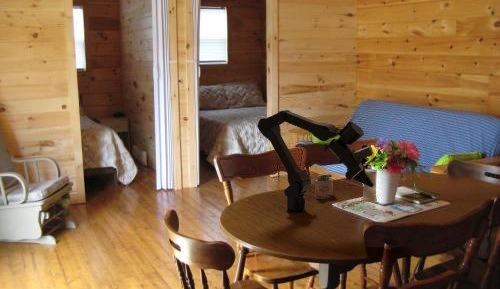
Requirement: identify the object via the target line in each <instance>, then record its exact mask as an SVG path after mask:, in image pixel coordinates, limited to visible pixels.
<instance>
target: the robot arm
mask: <svg viewBox="0 0 500 289" xmlns="http://www.w3.org/2000/svg"><path fill="white" fill-rule="evenodd" d="M284 123H287V124H290V125H292V126H295V127H297V128H299V129H302V130H304V131H307V132H309V133H310V134H311V135H312V136H313V137H314V138H316V139H318V140H319V141H321V142H326V143H324V144H323V146H324V148H323V152H325V153H326V152H327V151H328V150H330V151H331V152H332V154H334V155H335V156H336V158H337V159H338V162H339V163H340V164H343V165H344V166H345V168H347V169H346V172H345V173H344V174H345V175H344V176H345V178H346V179H347V180H348V181H350V180H352V181H356V182H359V183H361V184H362V185H363V184H365V185H367V186H369V187H373V186H374V185H373V183H372V182H371V180H370V179H369V177H368V176H367V174H366V173H365V169H369V164H370V162H369V161H370V157H372V156H373V155H374V151H373V147H372V146H371V145H368V144H367V143H365V144H362V145H361V148H360V149H358V150H356V149H354V148H351V147H350V146H353V145H354V144H355V143H357V141H358V140H359V139H361V138H362V137H363V136H364V135H365V132H364V130H363V128H361V126H359V125H358V124H356V123H354V121H352V120H351V121H348V122H347V123H346V125H344V127H343V128H339V127H336V125H335V124H332V123H328V122H322V121H315V120H313V119H310V118H307V117H306V116H302V115H300V114H297V113H296V112H292V111H290V110H288V109H282V110H280V111H278V112H276V113H274V114H273V115H271V116H266V117H263V118H262V117H261V118H260V119H259V120H258V121H257V125H256V126H257V129H258V131H259V132H260V133H261V135H262V136H263V137H264V138H265V139H267V140H268V141H269V142H270V144H271V146H272V147H273V150H274V151H275V153H276V155H277V157H278V158H279V161H280V162H281V164H282V166H283V168H284V170H285V171H286V173H287V174H286V175H287V183H288V186H287V187H286V188H285V189H284V191H283V193H284V196H285V197H287V198H286V212H288V213H289V212H292V213H304V210H306V197H305V194H306V193H307V191H308V189H310V187H311V183H312V181H311V178H312V177H311V176H310V175H309V173H308V171H307V169H305V168H304V169H301V168H300V167H299V166H298V164H297V162H296V161H295V159H294V157H293V155H292V152H291V151H290V150H289V148H288V146H287V144H286V142H285V140H284V138H283V136H282V133H281V132H282V130H281V125H282V124H284ZM327 141H329V143H328V142H327Z"/></svg>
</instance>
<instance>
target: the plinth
mask: <svg viewBox="0 0 500 289" xmlns="http://www.w3.org/2000/svg"><path fill="white" fill-rule="evenodd" d="M382 213H383V210H381V209H380V210H378V209H369V208H367V209H365V211H364V212H363V214H364V215H374V216H382Z"/></svg>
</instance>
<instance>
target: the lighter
mask: <svg viewBox="0 0 500 289" xmlns="http://www.w3.org/2000/svg"><path fill="white" fill-rule="evenodd" d="M314 183H315V184H314V188H315V189H314V191H315V192H314V199H318V200H319V199H321V200H322V199H323V200H324V199H330V198H331V197H332V196H333V194H334V192H333V189H334V186H333V185H334V179H332V173H328V174H327V173H326V174H324V173H322V174H319V175H317V179H315V180H314Z"/></svg>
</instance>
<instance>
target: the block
mask: <svg viewBox="0 0 500 289" xmlns="http://www.w3.org/2000/svg"><path fill="white" fill-rule="evenodd" d="M377 172H378V171H377V169H372V168H368V169H365V173H366V174H367V176H368V177H369V179H370V180H371V182H372V183H373V185H374V186H373V187H369V186H367V185H365V184H363V183H362V185H363V186H362V202H367V203H368V202H369V203H375V201H376V196H377V176H378V175H377Z"/></svg>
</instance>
